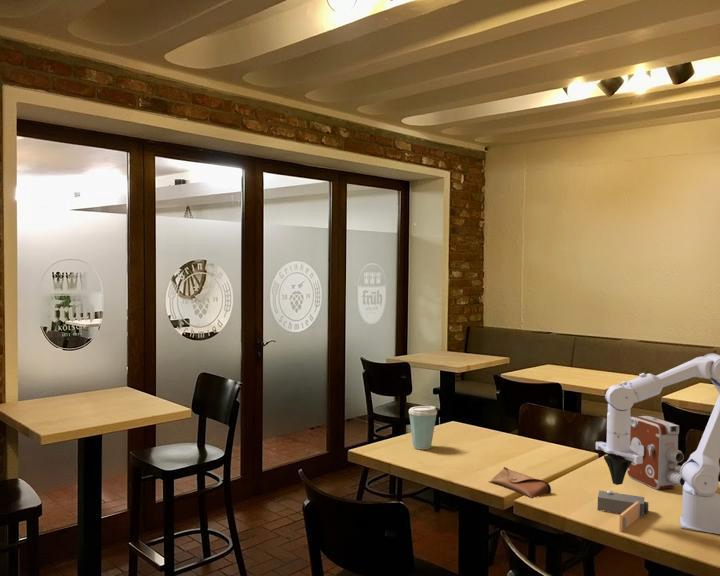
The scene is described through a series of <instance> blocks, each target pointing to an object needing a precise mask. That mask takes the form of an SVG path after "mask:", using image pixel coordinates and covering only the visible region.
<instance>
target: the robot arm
mask: <svg viewBox="0 0 720 576" xmlns="http://www.w3.org/2000/svg"><path fill="white" fill-rule="evenodd" d="M638 376H639V377H635V378H633V379H631V380H628V381H626V380H624V381H621V384H613V385H611V386H609V388H608V389H607V390H606V391H605V392H606V393H605V394H604V398H605V400H606V402H607V414H606V441H605V442H604V441H596V442H595V450H598V451H603V452H605V454H606V455H604V456H603V460H604V461H605V463H606V465H607V467H608V470H609V473H610V476H611V482H612V484H614V485H616V486H619V485H623V484H624V480H625V476H626V473H627V469H628V467H629V466H630V464H631V463H632V462H634V463H635V464H642V463H643V456H642V455H639V454H637V453H636V452H634V451H632V450H631V449H630V435H631V433H630V432H631V417H632V416H631V408H632V407H633V406H634V404H637V403H640V402H642V401H644V400H648V399H651V398H652V397H655V396H658V395H660V394H661V392H662V390H663V388H665V387H668V386H671V385H674V384H678V383H680V382H683V381H686V380H689V379H692V378H701V379H706V380H709V381H710V382H711V383H712V384H713V385H714V387H715V389H716V390H717V392H718V397H717V399H716V402H715V404H714V406H713V409H712V412H711V413H710V417H709V418H708V422H707V424H706V426H705V429H704V431H703V433H702V435H701V439H700V441H699V443H698V446H697V448H696V450H695V451H693V452H691V454H690V455H689V457H688V459H687V461H685V462H684V463H683V464H682V465H681V466H682V467H681V470H680V474H681V477H682V478H683V480H684V481H685V483H684V485H683V486H682V501H681V502H682V503H681V505H682V509H681V515H679V521H680V528H681V529H685V530H693V531H698V532H703V533H710V534H716V535H720V493H716V492H717V490H718V489H719V485H720V483H719V476H720V354H718V353H714V352H713V353H707V354H705V355H704V356H696V357H695V358H693V359H690V360H689V361H686V362H683V363H682V364H679V365H678V366H675V367H673V368H671V369H668V370H666V371H664V372H661V373H659V374H657V375H654V374H653V373H645V372H642V373H639V374H638Z"/></svg>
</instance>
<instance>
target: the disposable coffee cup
mask: <svg viewBox="0 0 720 576" xmlns="http://www.w3.org/2000/svg"><path fill="white" fill-rule="evenodd" d="M408 415H409V422H410V431H411V440H412V446H413V448H414V449H417V450H429V449H431V448H432V443H433V436H434V432H435V425H436V421H437V415H438V411H437V409H436V406H434V405H433V406H432V405H418V406H413V407H410V408H409V409H408Z"/></svg>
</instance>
